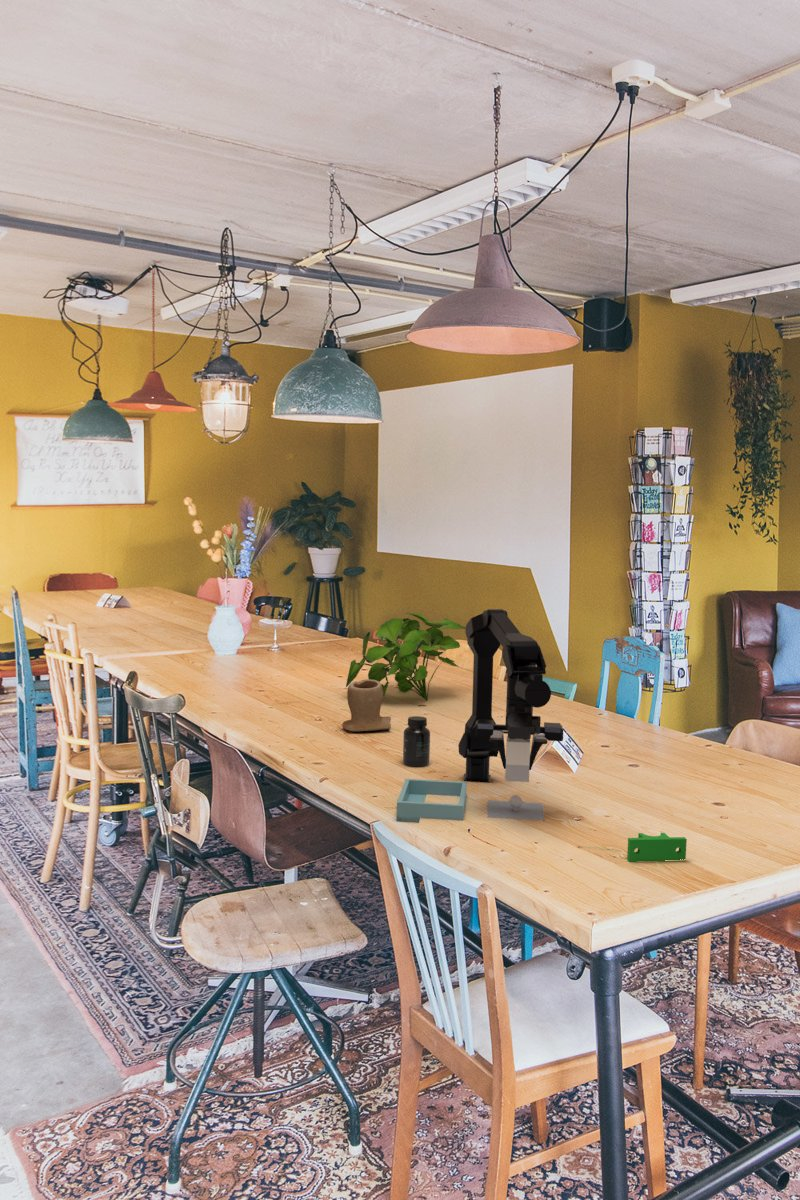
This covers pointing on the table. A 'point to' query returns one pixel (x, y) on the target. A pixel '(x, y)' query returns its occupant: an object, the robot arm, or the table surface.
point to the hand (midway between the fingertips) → (517, 769)
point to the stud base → (515, 809)
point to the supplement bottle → (416, 742)
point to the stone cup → (366, 707)
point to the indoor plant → (405, 652)
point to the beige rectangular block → (517, 760)
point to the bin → (415, 807)
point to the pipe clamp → (656, 848)
